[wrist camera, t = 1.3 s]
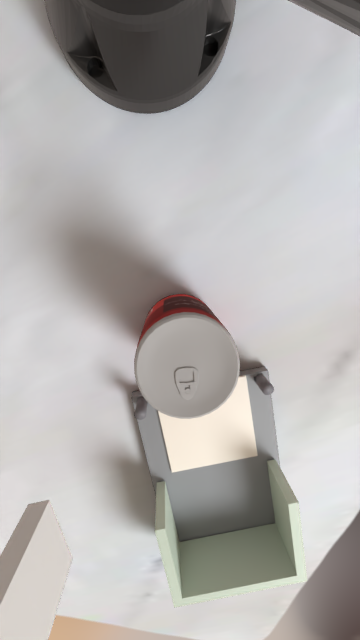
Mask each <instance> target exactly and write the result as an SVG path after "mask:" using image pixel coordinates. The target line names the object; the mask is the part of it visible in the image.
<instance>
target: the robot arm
mask: <svg viewBox="0 0 360 640" xmlns="http://www.w3.org/2000/svg"><path fill="white" fill-rule="evenodd" d="M288 1H290V2H292V3H294V4H296V5H298V6H300V7H302V8H304V9H306V10H309V11H311V12H313V13H315V14H317V15H319V16H321V17H323V18H325V19H327V20H329V21H331V22H333V23H335V24H337V25H339V26H341V27H343V28H345V29H347V30H349V31H351V32H353V33H354V34H356V35H358V36H360V0H288ZM44 2H45V6H46V10H47V14H48V18H49V21H50V24H51V27H52V30H53V32H54V35H55V37H56V39H57V41H58V43H59V45H60V47H61V49H62V51H63V53H64V55H65V57H66V59H67V61H68V63H69V64H70V66H71V68H72V69H73V71H74V72H75V74H76V75H77V76H78V78H79V79H80V80H81V81H82V82H83V83H84V84H85V86H86V87H87V88H88V89H90V90H91V91H92V92H93V93H94V94H95V95H97V96H98V97H99V98H101V99H102V100H104V101H105V102H107V103H109V104H111V105H113V106H115V107H117V108H120V109H123V110H126V111H130V112H135V113H159V112H164V111H168V110H171V109H174V108H176V107H178V106H180V105H182V104H184V103H186V102H187V101H189V100H190V99H192V98H193V97H194V96H196V95H197V94H198V93H199V92H200V91H201V90H202V89H203V88H204V87H205V86H206V84H207V83H208V82H209V81H210V79H211V78H212V77H213V75H214V73H215V72H216V70H217V68H218V66H219V64H220V62H221V60H222V58H223V55H224V52H225V49H226V46H227V42H228V39H229V36H230V32H231V29H232V24H233V20H234V14H235V5H236V0H44ZM72 560H73V558H72V555H71V553H70V550H69V548H68V545H67V543H66V540H65V538H64V535H63V533H62V530H61V528H60V525H59V523H58V520H57V518H56V515H55V512H54V510H53V507H52V505H51V502H50V500H46V501H42V502H37V503H33V504H28V506H27V508H26V510H25V512H24V513H23V515H22V517H21V519H20V521H19V523H18V525H17V526H16V528H15V530H14V532H13V534H12V536H11V537H10V539H9V541H8V543H7V545H6V547H5V548H4V550H3V552H2V554H1V556H0V640H48V638H49V635H50V632H51V629H52V625H53V622H54V619H55V615H56V612H57V609H58V606H59V602H60V599H61V596H62V592H63V589H64V586H65V583H66V579H67V576H68V573H69V569H70V566H71V563H72Z"/></svg>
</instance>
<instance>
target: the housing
mask: <svg viewBox="0 0 360 640" xmlns="http://www.w3.org/2000/svg"><path fill="white" fill-rule="evenodd" d="M267 465H268V472H269V480H270V487H271V494H272V502H273V509H274V516H275V523H274V524H268V525H263V526H258V527H253V528H248V529H243V530H238V531H233V532H228V533H223V534H218V535H213V536H208V537H203V538H198V539H193V540H188V541H183V542H179V538H178V534H177V530H176V525H175V521H174V517H173V513H172V508H171V504H170V500H169V495H168V491H167V487H166V483H165V481H162V482H157V486H156V512H155V533H156V537H157V541H158V545H159V549H160V553H161V557H162V561H163V565H164V569H165V573H166V577H167V580H168V584H169V588H170V592H171V596H172V600H173V604H174V608H175V607H180V606H185V605H190V604H195V603H200V602H205V601H210V600H215V599H220V598H225V597H230V596H235V595H240V594H245V593H250V592H255V591H260V590H265V589H270V588H275V587H280V586H285V585H290V584H295V583H300V582H305V581H307V574H306V565H305V556H304V547H303V538H302V529H301V520H300V511H299V502H298V500H297V499H296V497H295V495H294V493H293V491H292V489H291V487H290V486H289V484H288V482H287V480H286V478H285V476H284V474H283V472H282V471H281V469H280V467H279V465H278V463H277V461H276V459H274V460H269V461H267Z"/></svg>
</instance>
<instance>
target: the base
mask: <svg viewBox="0 0 360 640" xmlns="http://www.w3.org/2000/svg"><path fill="white" fill-rule="evenodd" d="M273 391H274V387H273V386H272V385H271V383H270V382H269V374H268V370H267V369H266V368H265V366H264V367H259V368H254V369H249V370H243V371H240V372H239V378H238V381H237V385H236V387H235V389H234V391H233V393H232V394H231V396H230V397H229V398H228V399H227V401H226V402H225V403H224V404H223V405H221V406H220V407H219V408H218V409H216V410H215V411H213V412H211V413H210V414H207V415H204V416H202V417H198V418H192V419H180V418H175V417H170V416H168V415H166V414H163V413H161V412H160V411H158V410H156V409H155V408H153V407H152V406H151V405H150V404H149V403H148V402H147V401H146V399H145V398H144V397H143V395H142V394H141V392H140V391H135V392H133V393H132V401H133V405H134V409H135V413H134V416H135V418H136V419H137V421H138V425H139V430H140V434H141V438H142V442H143V446H144V450H145V454H146V458H147V462H148V466H149V470H150V474H151V478H152V482H153V486H154V491H155V495H156V486H157V482H162V481H165V483H166V487H167V491H168V495H169V500H170V504H171V508H172V513H173V517H174V521H175V525H176V530H177V534H178V538H179V542H183V541H188V540H193V539H198V538H203V537H208V536H213V535H218V534H223V533H228V532H233V531H238V530H243V529H248V528H253V527H258V526H263V525H268V524H274V523H275V516H274V509H273V502H272V494H271V487H270V480H269V472H268V465H267V461H269V460H274V459H276V461H277V463H278V465H279V467H280V461H279V453H278V445H277V437H276V429H275V421H274V413H273V406H272V398H271V394H272V392H273Z"/></svg>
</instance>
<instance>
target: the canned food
mask: <svg viewBox="0 0 360 640" xmlns="http://www.w3.org/2000/svg"><path fill="white" fill-rule="evenodd" d="M134 370H135V378H136V382H137V385H138V387H139V390H140V392H141V394H142V395H143V397H144V398H145V399H146V401H147V402H148V403H149V404H150V405H151V406H152V407H153V408H155V409H156V410H158V411H160V412H161V413H163V414H166V415H168V416H170V417H175V418H180V419H192V418H198V417H202V416H204V415H207V414H210V413H211V412H213V411H215V410H216V409H218V408H219V407H220V406H221V405H223V404H224V403H225V402H226V401H227V399H228V398H229V397H230V396H231V394H232V393H233V391H234V389H235V387H236V385H237V381H238V378H239V372H240V360H239V354H238V351H237V347H236V345H235V342H234V340H233V339H232V337H231V335H230V333H229V332H228V331H227V329H226V328H225V327H224V326H223V324H222V323H221V322H220V321H219V320H218V318H217V317H216V316H215V315H214V314H213V312H212V311H211V310H210V309H209V308H208V307H207V305H206V304H205V303H203V302H202V301H201V300H199V299H197V298H195V297H193V296H190V295H186V294H176V295H171V296H168V297H166V298H163V299H162V300H160V301H159V302H157V303H156V304H155V305H154V306H153V307H152V309H151V310H150V312H149V313H148V316H147V318H146V320H145V323H144V327H143V330H142V333H141V336H140V339H139V342H138V345H137V350H136V355H135V360H134Z"/></svg>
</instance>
